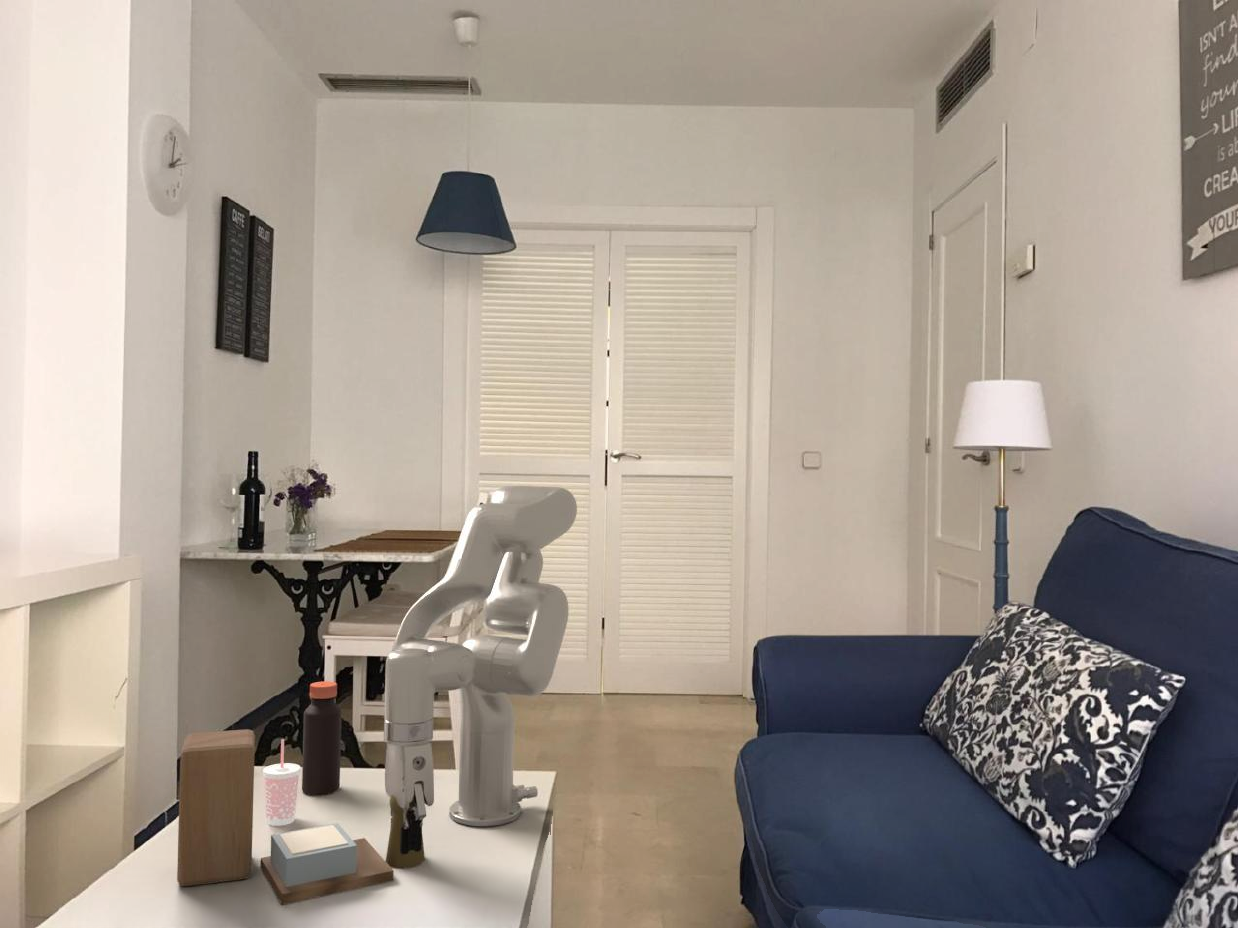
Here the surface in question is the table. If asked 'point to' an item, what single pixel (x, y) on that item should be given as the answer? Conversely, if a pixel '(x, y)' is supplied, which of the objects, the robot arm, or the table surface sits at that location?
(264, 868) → the brown board
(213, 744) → the block
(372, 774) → the table surface
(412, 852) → the olive pawn
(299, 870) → the slate plinth
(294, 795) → the beverage cup
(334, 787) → the bottle
